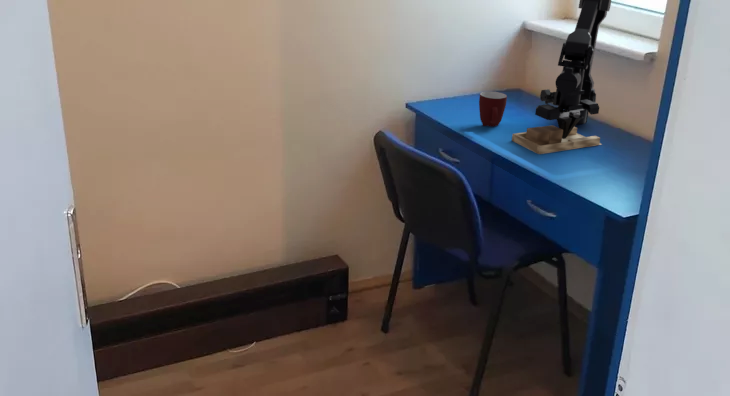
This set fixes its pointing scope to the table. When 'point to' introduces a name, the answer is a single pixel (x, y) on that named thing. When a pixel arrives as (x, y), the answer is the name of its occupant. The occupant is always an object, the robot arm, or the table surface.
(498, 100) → the mug
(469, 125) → the table surface
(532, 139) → the brown wooden cube
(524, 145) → the slot board
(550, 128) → the brown cube
